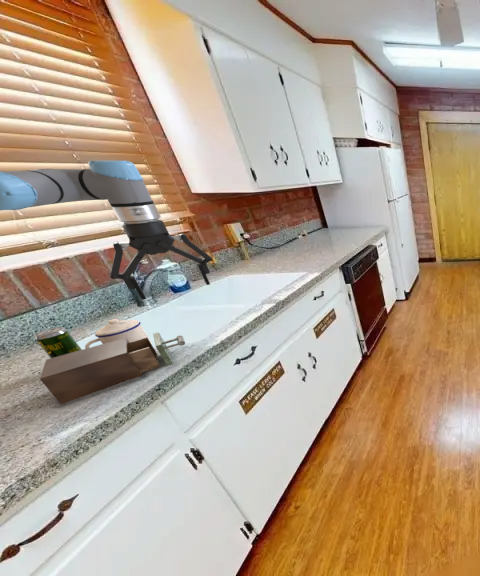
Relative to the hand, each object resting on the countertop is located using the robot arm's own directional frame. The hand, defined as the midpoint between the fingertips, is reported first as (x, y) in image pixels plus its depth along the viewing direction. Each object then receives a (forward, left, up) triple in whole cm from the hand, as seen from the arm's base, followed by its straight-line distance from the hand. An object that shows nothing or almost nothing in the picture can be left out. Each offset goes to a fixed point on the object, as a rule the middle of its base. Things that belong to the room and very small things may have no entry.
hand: (177, 290), depth 90 cm
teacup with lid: (-15, -17, -21) cm, 31 cm away
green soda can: (-18, -27, -21) cm, 39 cm away
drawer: (+1, -12, -20) cm, 23 cm away
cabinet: (+1, -21, -21) cm, 30 cm away
